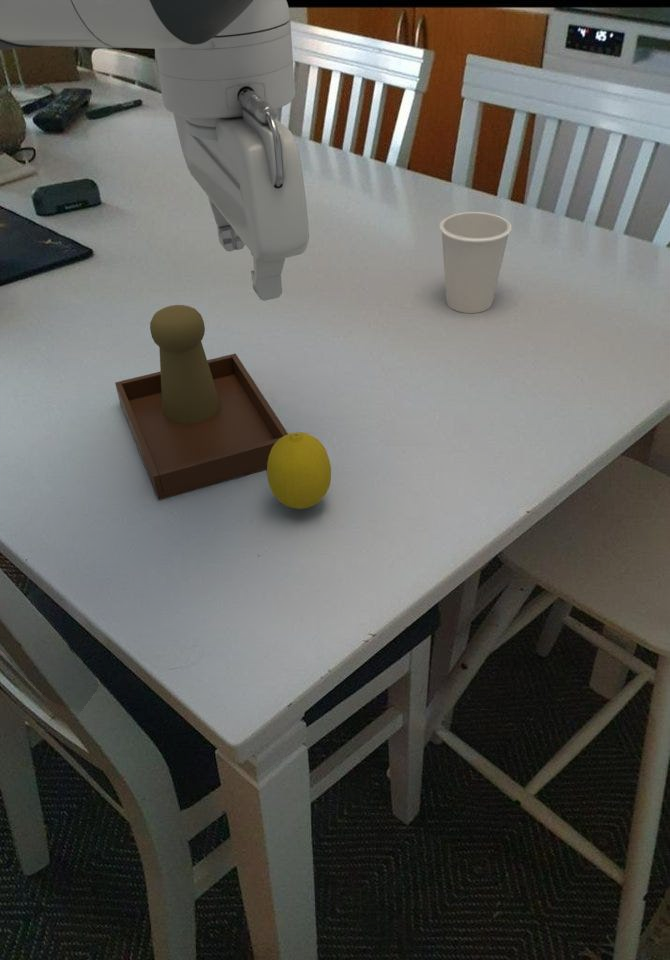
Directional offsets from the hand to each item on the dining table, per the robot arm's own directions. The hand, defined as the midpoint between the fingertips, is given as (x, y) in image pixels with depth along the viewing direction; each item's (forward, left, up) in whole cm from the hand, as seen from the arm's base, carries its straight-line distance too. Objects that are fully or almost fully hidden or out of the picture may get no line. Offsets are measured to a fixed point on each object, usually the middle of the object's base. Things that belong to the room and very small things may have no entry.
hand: (249, 270), depth 62 cm
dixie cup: (+34, +23, -21) cm, 46 cm away
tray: (-4, +11, -21) cm, 24 cm away
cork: (-4, +14, -21) cm, 25 cm away
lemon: (+1, -4, -21) cm, 22 cm away
